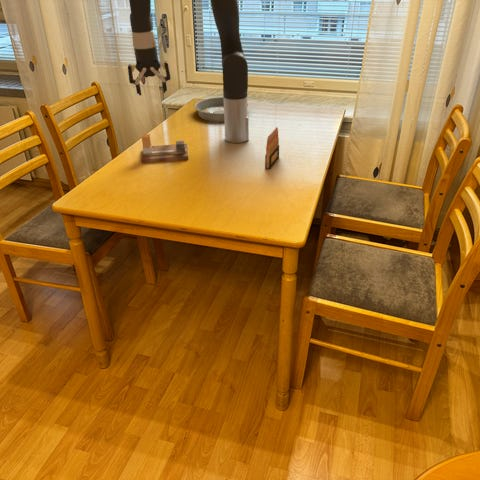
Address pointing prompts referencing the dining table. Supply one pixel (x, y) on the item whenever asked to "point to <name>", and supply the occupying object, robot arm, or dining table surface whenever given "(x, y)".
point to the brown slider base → (166, 153)
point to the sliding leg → (146, 143)
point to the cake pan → (208, 103)
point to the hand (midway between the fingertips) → (152, 93)
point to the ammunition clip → (272, 149)
